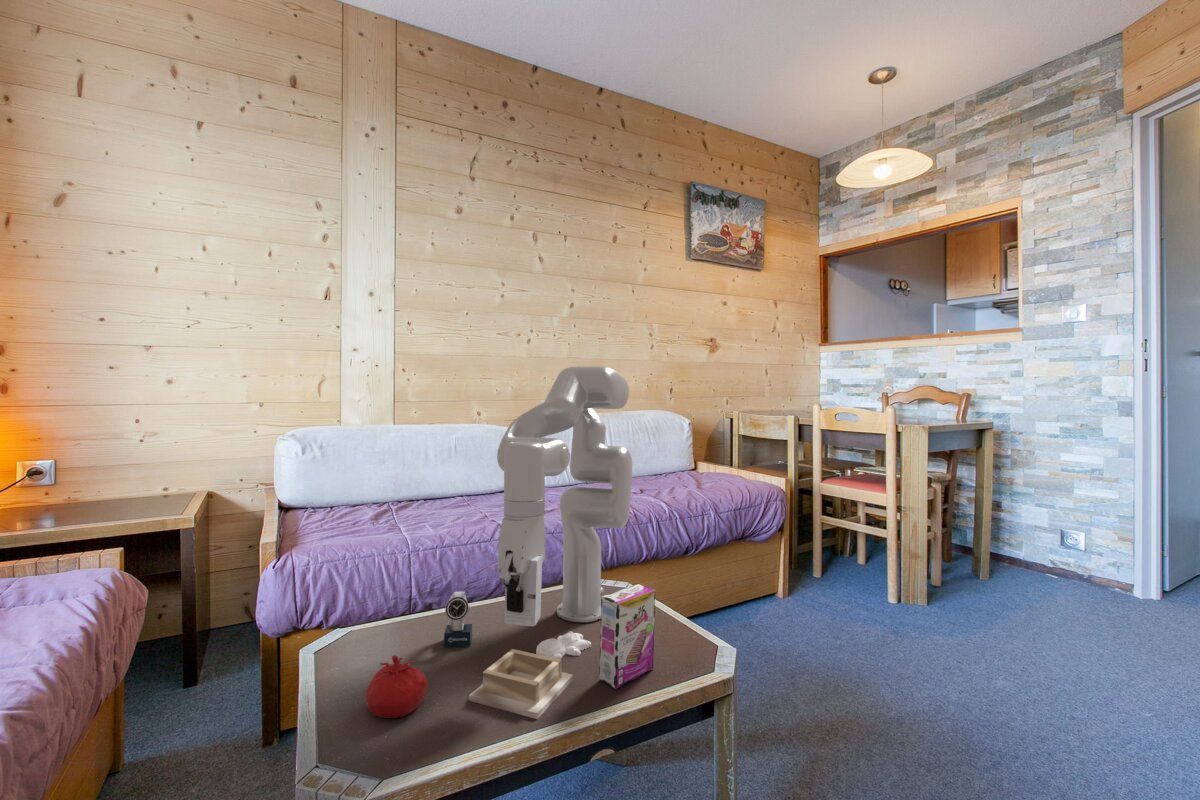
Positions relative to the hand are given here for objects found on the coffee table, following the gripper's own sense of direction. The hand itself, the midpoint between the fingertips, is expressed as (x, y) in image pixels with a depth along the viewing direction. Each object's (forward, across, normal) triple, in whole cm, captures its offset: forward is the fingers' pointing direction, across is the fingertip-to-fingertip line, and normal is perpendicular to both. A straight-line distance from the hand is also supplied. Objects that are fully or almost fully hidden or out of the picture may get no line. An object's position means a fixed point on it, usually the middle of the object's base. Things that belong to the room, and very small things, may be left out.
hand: (523, 604), depth 102 cm
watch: (+16, -11, -23) cm, 30 cm away
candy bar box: (+16, -13, +16) cm, 26 cm away
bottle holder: (+16, 0, 0) cm, 16 cm away
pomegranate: (+16, +14, -17) cm, 27 cm away
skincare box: (+3, 0, 0) cm, 3 cm away
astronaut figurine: (+17, -18, 0) cm, 25 cm away
